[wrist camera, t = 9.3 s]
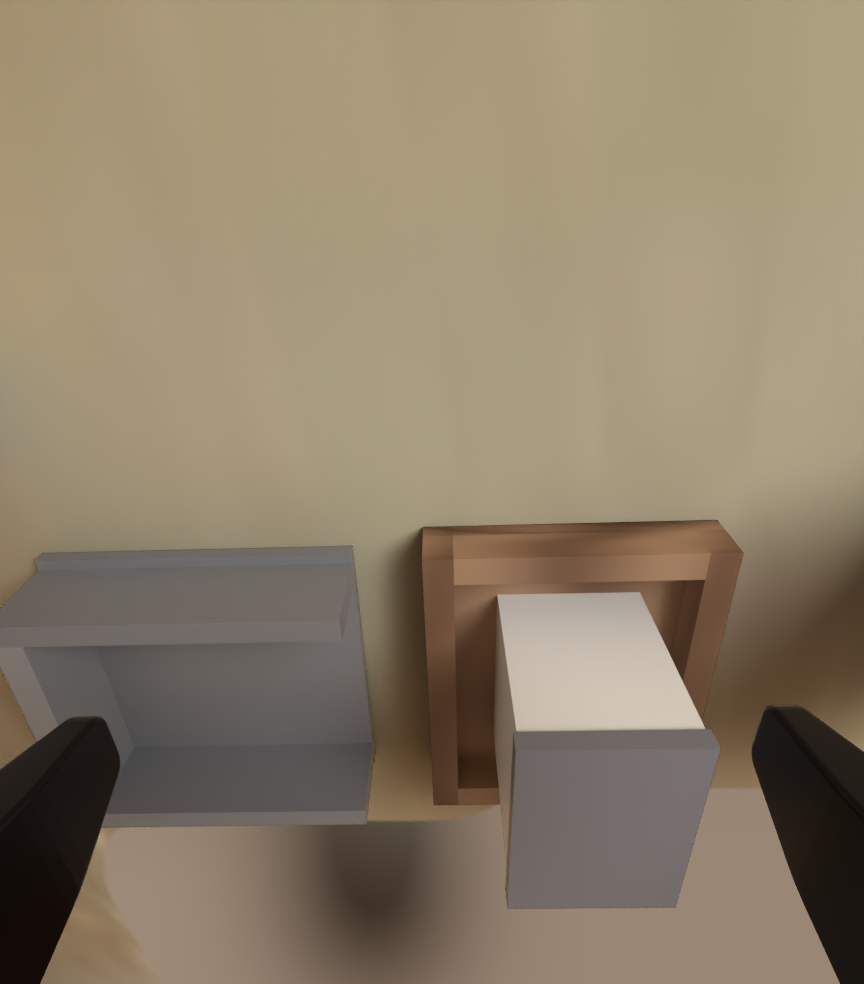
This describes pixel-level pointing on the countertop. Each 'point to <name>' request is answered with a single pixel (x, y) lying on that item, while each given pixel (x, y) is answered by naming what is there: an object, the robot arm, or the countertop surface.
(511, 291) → the countertop surface
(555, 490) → the countertop surface
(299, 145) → the countertop surface
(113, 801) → the grey drawer cabinet
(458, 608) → the walnut tray
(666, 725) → the grey-fronted drawer box
